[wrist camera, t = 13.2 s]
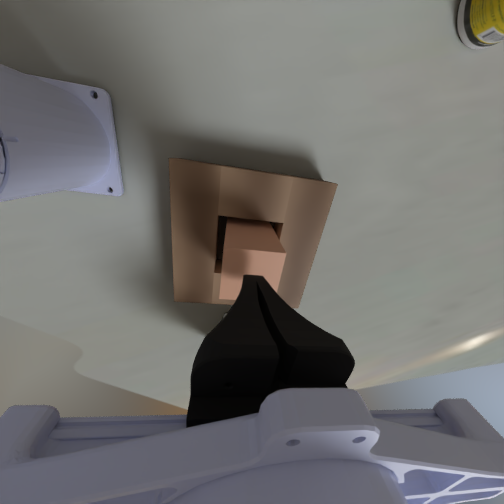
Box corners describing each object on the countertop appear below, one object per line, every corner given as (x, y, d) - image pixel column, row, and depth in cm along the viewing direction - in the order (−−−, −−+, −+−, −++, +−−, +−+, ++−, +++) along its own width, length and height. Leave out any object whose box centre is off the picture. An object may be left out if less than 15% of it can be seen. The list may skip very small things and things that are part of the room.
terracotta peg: (224, 253, 22) (219, 298, 15) (227, 215, 20) (223, 247, 13) (261, 256, 22) (274, 302, 15) (268, 220, 21) (286, 253, 13)
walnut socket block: (181, 284, 23) (174, 301, 21) (178, 158, 17) (168, 158, 15) (291, 292, 25) (298, 308, 22) (323, 180, 19) (337, 183, 16)
